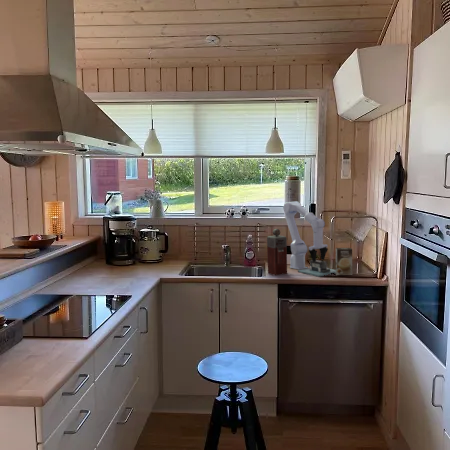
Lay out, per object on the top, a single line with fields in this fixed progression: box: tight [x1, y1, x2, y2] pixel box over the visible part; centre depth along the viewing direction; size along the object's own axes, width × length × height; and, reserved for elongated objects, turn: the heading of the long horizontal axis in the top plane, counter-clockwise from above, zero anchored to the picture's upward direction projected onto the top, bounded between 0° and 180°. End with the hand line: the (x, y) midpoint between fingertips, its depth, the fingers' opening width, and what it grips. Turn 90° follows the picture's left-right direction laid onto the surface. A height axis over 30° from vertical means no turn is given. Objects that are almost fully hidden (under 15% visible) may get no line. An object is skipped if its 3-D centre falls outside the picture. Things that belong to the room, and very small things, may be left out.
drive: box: [309, 259, 328, 272], centre depth 280 cm, size 10×4×6 cm, turn 34°
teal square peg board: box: [297, 265, 336, 277], centre depth 280 cm, size 18×18×4 cm
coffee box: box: [335, 247, 353, 276], centre depth 270 cm, size 9×6×16 cm
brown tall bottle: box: [266, 228, 288, 276], centre depth 279 cm, size 9×11×28 cm
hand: (318, 260), depth 280 cm, fingers open, 7 cm apart
